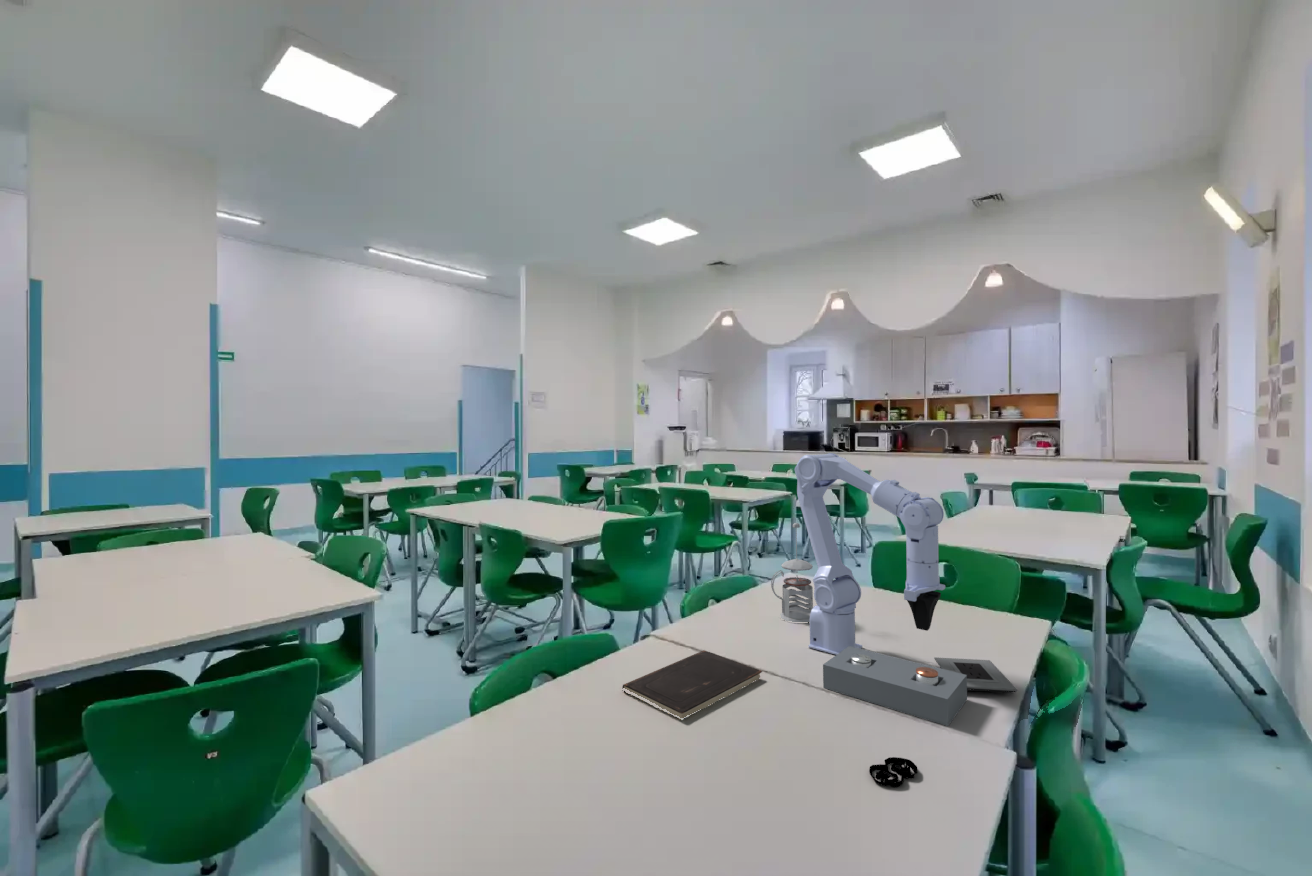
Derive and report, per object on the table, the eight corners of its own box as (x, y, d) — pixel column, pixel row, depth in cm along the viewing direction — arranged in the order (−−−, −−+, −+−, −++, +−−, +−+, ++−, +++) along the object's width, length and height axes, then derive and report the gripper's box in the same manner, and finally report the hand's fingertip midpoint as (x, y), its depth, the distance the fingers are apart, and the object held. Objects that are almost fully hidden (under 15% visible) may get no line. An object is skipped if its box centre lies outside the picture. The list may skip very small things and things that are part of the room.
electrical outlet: (1017, 700, 103) (1017, 687, 103) (954, 696, 105) (954, 683, 105) (989, 670, 116) (989, 658, 116) (934, 667, 118) (934, 656, 118)
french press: (821, 623, 144) (820, 525, 144) (776, 624, 144) (774, 526, 144) (811, 611, 154) (810, 519, 154) (769, 611, 154) (767, 520, 154)
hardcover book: (762, 682, 113) (761, 670, 113) (682, 725, 97) (681, 712, 97) (702, 659, 125) (702, 649, 125) (622, 695, 109) (621, 683, 109)
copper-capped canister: (913, 697, 102) (913, 671, 101) (919, 690, 104) (919, 665, 104) (934, 704, 99) (934, 677, 99) (941, 696, 102) (940, 670, 102)
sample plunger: (848, 682, 110) (848, 658, 110) (856, 676, 112) (855, 652, 112) (867, 687, 107) (866, 663, 107) (874, 681, 110) (874, 657, 110)
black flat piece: (926, 775, 81) (926, 768, 81) (891, 796, 77) (891, 788, 77) (895, 759, 85) (895, 752, 85) (860, 777, 81) (860, 770, 81)
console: (823, 687, 109) (822, 664, 109) (849, 667, 118) (849, 646, 118) (947, 726, 94) (947, 699, 94) (967, 699, 103) (966, 675, 103)
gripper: (931, 570, 103) (932, 644, 104) (955, 556, 114) (956, 623, 114) (892, 564, 108) (893, 635, 109) (918, 551, 119) (919, 616, 119)
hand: (922, 628), depth 112 cm, fingers closed
